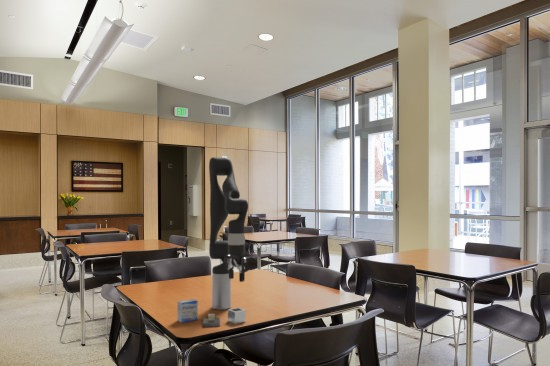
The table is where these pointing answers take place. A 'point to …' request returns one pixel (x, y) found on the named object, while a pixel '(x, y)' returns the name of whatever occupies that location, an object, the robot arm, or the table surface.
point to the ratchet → (211, 321)
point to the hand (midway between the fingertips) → (236, 280)
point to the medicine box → (187, 310)
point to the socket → (236, 315)
